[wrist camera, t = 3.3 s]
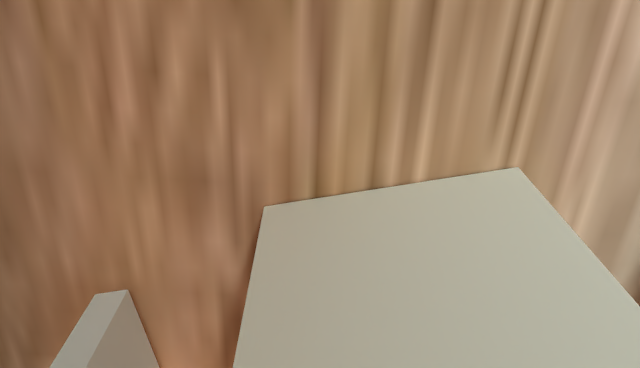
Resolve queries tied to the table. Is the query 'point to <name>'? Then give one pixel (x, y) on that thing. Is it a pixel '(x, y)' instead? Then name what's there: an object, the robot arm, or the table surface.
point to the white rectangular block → (432, 283)
